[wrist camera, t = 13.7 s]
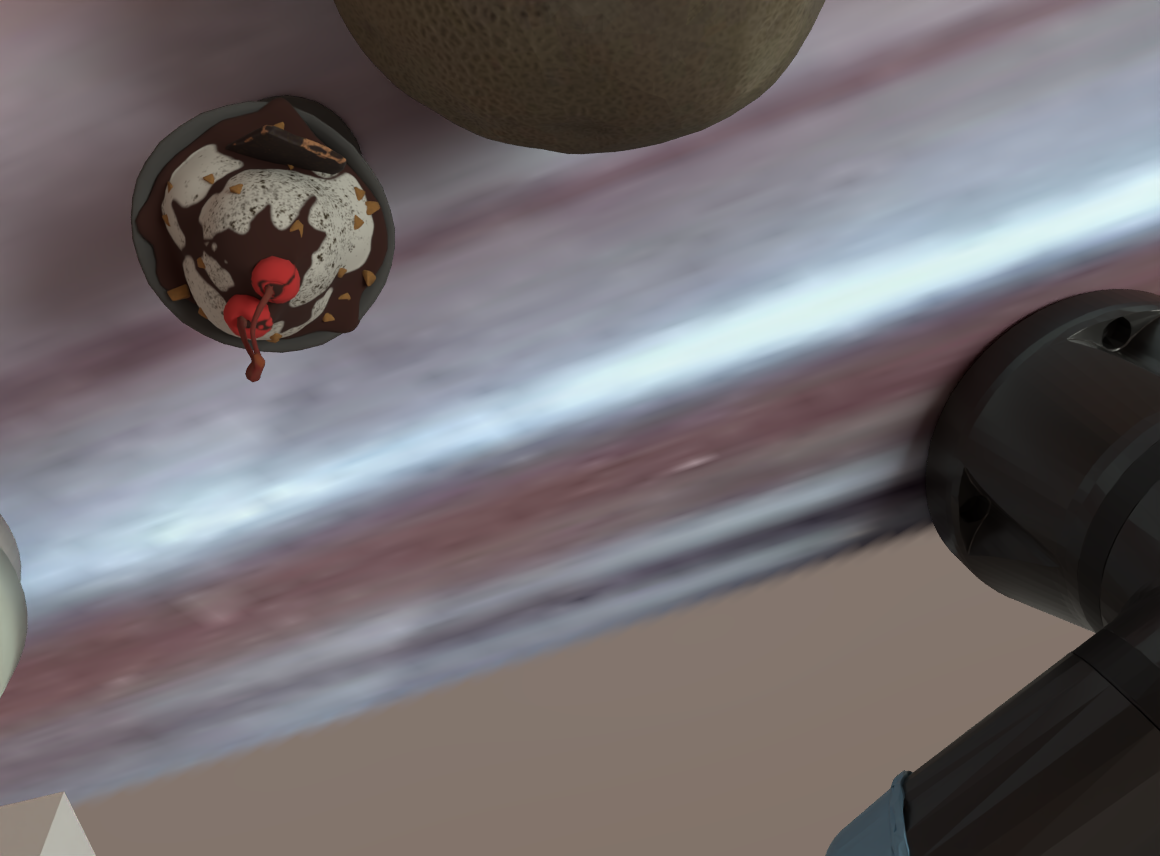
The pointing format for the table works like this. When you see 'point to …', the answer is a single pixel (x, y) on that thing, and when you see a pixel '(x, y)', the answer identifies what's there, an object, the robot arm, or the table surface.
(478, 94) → the cantaloupe
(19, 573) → the bowl
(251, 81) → the table surface
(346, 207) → the sundae
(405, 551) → the table surface
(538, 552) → the table surface
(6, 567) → the lid
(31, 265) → the table surface
